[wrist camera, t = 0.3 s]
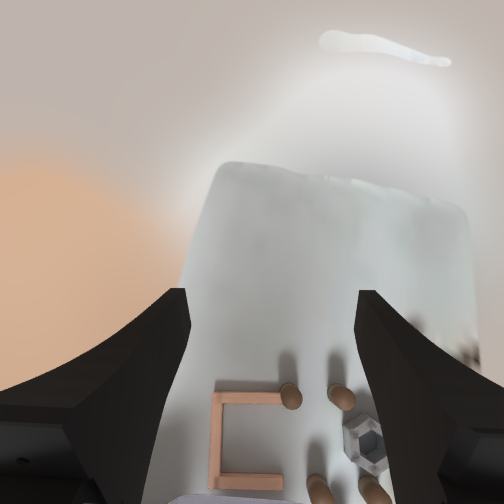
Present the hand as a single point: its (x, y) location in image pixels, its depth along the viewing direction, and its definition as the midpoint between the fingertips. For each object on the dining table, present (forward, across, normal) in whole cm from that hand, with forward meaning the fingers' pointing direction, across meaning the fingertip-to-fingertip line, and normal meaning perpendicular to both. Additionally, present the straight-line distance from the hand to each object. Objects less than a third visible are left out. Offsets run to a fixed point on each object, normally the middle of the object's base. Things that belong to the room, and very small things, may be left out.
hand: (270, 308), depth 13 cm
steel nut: (+13, -10, +30) cm, 35 cm away
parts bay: (+13, +3, +30) cm, 33 cm away
